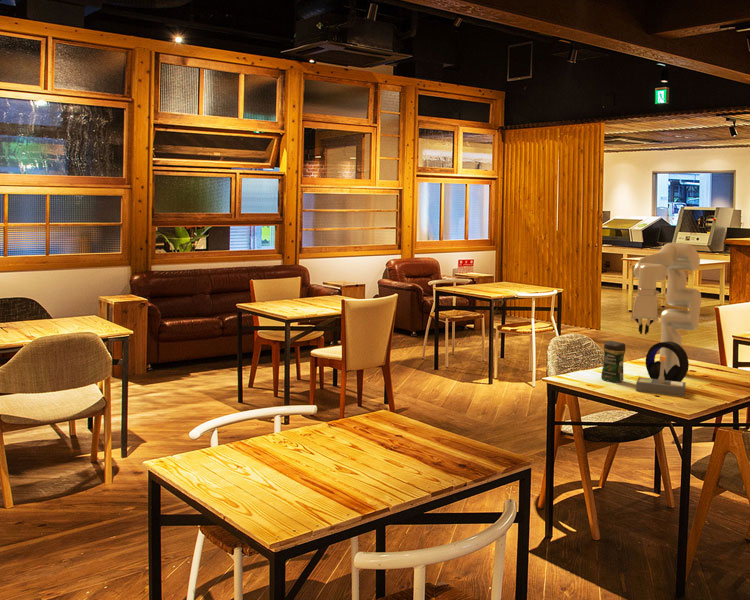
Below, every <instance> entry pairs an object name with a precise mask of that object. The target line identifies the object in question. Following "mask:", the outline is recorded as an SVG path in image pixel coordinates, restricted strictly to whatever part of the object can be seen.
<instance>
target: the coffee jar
mask: <svg viewBox="0 0 750 600" xmlns="http://www.w3.org/2000/svg"><path fill="white" fill-rule="evenodd" d="M602 350H603V355H604V356H603V362H602V363H603V365H602V370H601V376H600V379H602V380H603V381H607V382H612V383H621V382H623V381H624V357H625V353H626V352H627V351H626V344H625V343H624V342H619V341H614V340H608V341H607V340H606V341H605V342H604V344H603V349H602Z"/></svg>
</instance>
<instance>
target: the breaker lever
mask: <svg viewBox="0 0 750 600" xmlns="http://www.w3.org/2000/svg"><path fill="white" fill-rule="evenodd" d="M659 358H660V361H661V365H660V378H664V366H665V362H666V356H662V355H661V356H660V355H659Z"/></svg>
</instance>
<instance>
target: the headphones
mask: <svg viewBox="0 0 750 600" xmlns="http://www.w3.org/2000/svg"><path fill="white" fill-rule="evenodd" d="M663 347H664V348H668V349H670V350H672V351H673V352H674V353H675V354H676V355H677V357H678V359H679V366H678V365H674V366H673V367H672V368H671V369H670V370H669V371H668V373H667V374H666V371H665V368H664V377H665V379H664V380H668V381H677V382H683V380H684V379H685V377H686V375H687V374H688V371H689V367H690V366H689V365H690V363H689V357H688V355H687V352H686V350H685V349H684V348H683V347H682V345H681V346H680V345H679V344H677V343H675V342H670V341H667V342H661V341H660V342H657V343H655V344H653V345H652V346H651V347H650V348H649V349H648V351H647V353H646V356H645V368H646V371H647V373H648V376H649V378H651V379H658V378H659V376H660V365H661V362H660V361H659V360H656V361H655V359H656V355H657V353H658V351H660V349H661V348H663Z"/></svg>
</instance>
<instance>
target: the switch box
mask: <svg viewBox="0 0 750 600" xmlns="http://www.w3.org/2000/svg"><path fill="white" fill-rule="evenodd" d="M664 379H665V377H664V378H660V376H659V378H658V379H651V378H650V377H640V376H638V377H637V380H636V386H635V392H640V393H641V392H642V393H643V392H644V393H651V394H658V395H659V394H660V395H665V396H666V395H667V396H675V397H682V398H683V397H685V393H686V383H687V382H684V381H681V382H677V381H668V380H664Z"/></svg>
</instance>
